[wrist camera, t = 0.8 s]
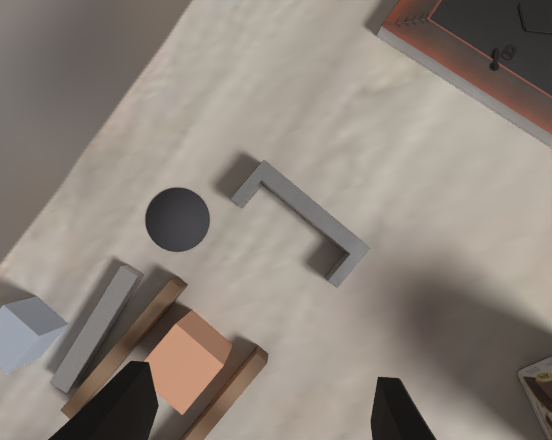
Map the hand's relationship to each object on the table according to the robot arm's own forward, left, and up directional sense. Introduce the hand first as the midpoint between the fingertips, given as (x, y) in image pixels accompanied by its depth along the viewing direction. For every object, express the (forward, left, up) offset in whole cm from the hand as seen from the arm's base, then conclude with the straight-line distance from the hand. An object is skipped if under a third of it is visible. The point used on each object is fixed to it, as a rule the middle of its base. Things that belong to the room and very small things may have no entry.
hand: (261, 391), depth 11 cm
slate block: (-17, +15, -21) cm, 31 cm away
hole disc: (-1, +11, -21) cm, 24 cm away
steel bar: (-13, +10, -21) cm, 27 cm away
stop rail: (+6, +2, -21) cm, 22 cm away
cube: (-9, +2, -21) cm, 23 cm away
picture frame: (+34, -2, -22) cm, 40 cm away
